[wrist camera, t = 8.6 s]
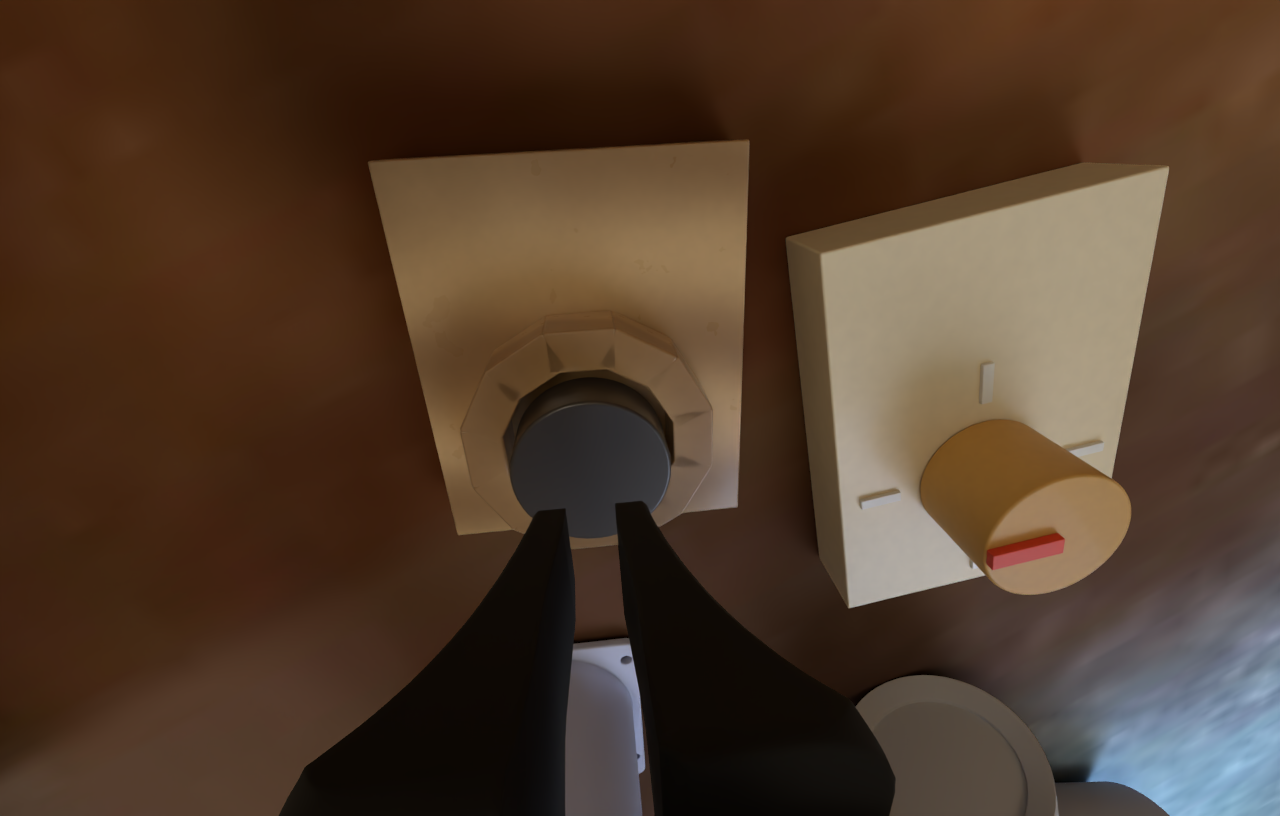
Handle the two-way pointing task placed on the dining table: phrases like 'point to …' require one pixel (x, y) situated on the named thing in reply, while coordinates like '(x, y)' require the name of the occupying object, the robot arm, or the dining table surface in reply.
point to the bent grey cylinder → (976, 757)
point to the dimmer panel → (962, 349)
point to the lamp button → (589, 454)
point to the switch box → (573, 303)
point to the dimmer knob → (1024, 506)
